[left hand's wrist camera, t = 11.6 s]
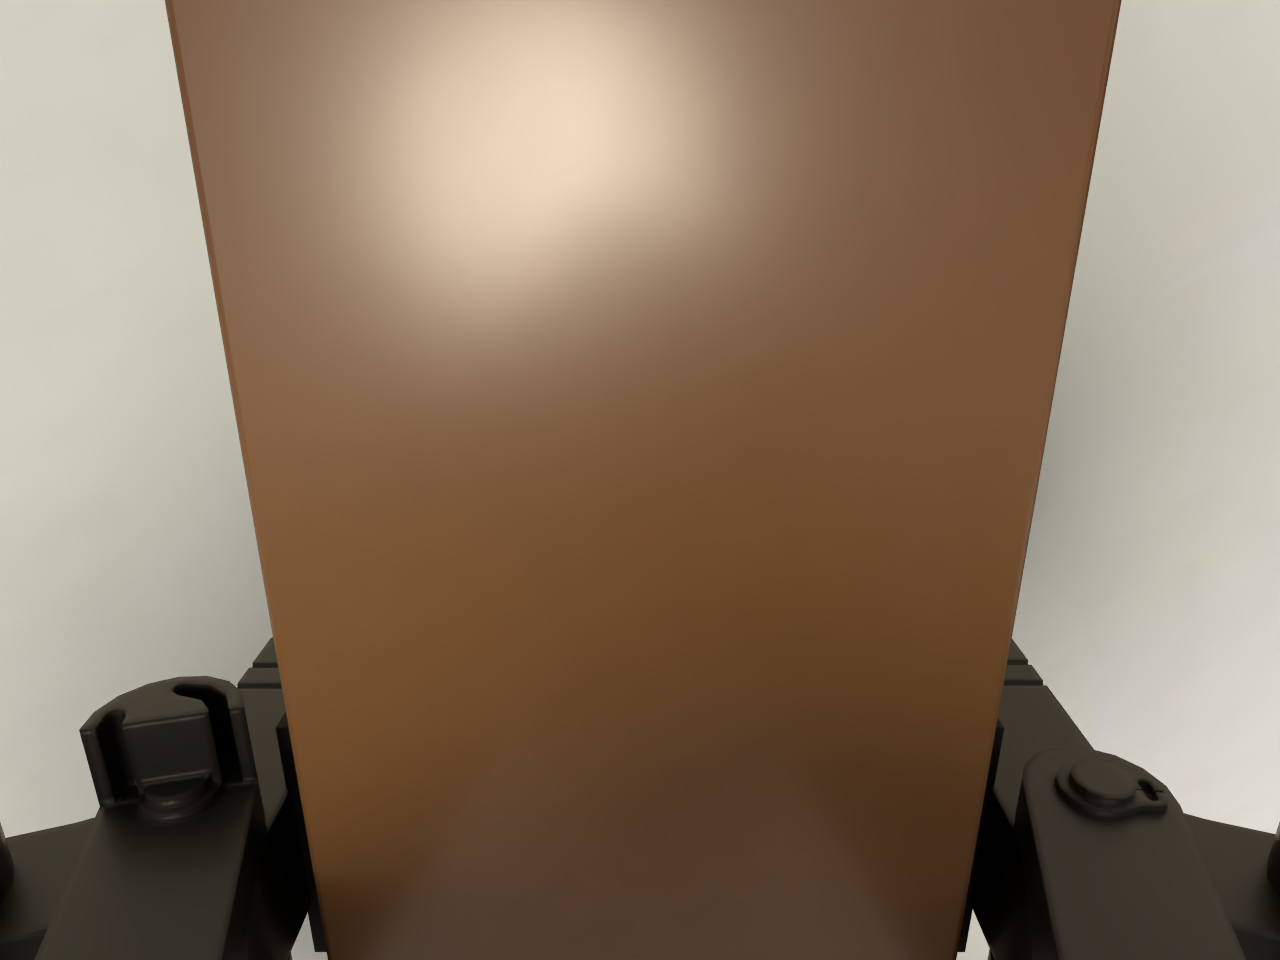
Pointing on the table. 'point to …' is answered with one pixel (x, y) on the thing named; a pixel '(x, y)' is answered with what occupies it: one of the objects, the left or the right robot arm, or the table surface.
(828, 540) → the beam
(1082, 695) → the table surface
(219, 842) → the left robot arm
